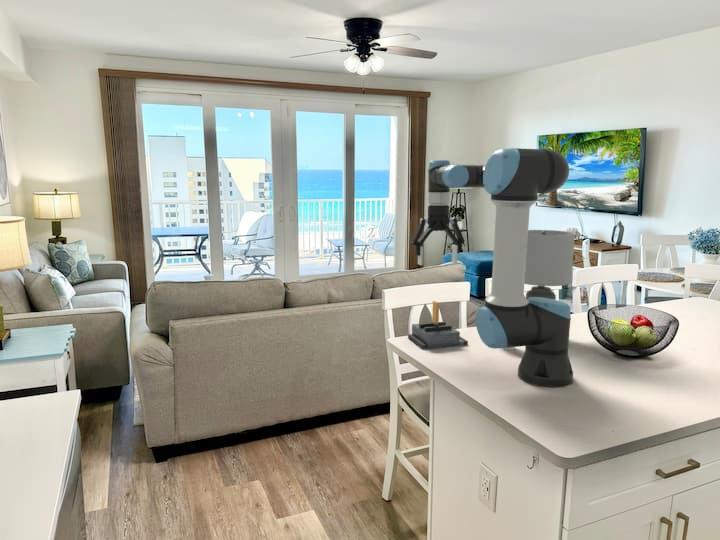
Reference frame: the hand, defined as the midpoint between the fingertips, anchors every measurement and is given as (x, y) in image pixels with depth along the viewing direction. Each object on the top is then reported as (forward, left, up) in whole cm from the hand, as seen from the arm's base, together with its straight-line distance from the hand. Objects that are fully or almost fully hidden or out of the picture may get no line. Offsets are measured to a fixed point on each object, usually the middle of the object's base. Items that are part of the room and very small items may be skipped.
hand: (437, 263), depth 189 cm
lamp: (-11, -37, -27) cm, 47 cm away
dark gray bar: (-7, +10, -27) cm, 30 cm away
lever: (-7, +3, -20) cm, 22 cm away
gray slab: (-7, -5, -27) cm, 28 cm away
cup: (-20, -17, -27) cm, 37 cm away
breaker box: (-7, +3, -27) cm, 28 cm away
